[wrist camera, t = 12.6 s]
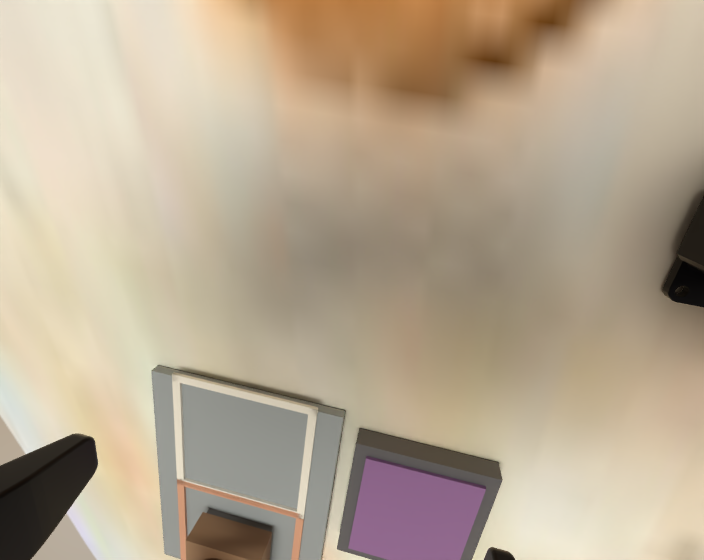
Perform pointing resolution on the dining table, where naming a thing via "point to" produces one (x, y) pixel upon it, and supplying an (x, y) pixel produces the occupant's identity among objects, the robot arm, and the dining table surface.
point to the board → (244, 460)
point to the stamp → (228, 538)
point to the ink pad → (415, 500)
